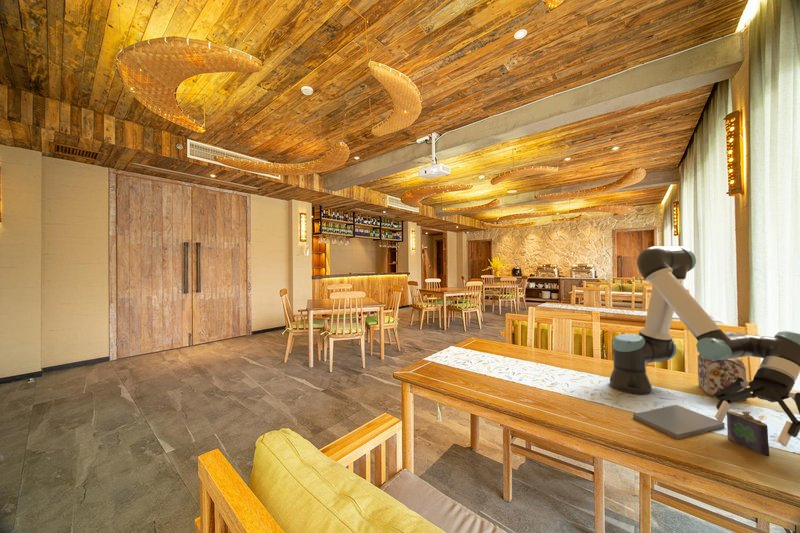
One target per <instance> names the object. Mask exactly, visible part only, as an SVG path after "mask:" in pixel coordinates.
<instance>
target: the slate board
mask: <svg viewBox="0 0 800 533" xmlns="http://www.w3.org/2000/svg"><path fill="white" fill-rule="evenodd" d="M632 416H633V419H634V420H636V421H639V422H641V423H642V424H645V425H647V426H649V427H651V428H654V430H655V429H656V430H658V431H659V432H661V433H664V434H666V435H668V436H671V437H672V438H674V439H676V440H680V439H683V438H684V439H685V438H689V437H692V436H697V435H700V434H704V433H707V432H712V431H716V430H720V429H723V428H725V422H724V421H723V422H719V421H718V420H717V419H715V418H712V417H710V416H707V415H704V414H702V413H700V412H696V411H694V410H691V409H688V408H686V407H684V406H681V405H678V404H674V405H669V406H663V407H659V408H654V409H649V410H646V411H641V412H635V413H633V414H632Z"/></svg>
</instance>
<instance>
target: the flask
mask: <svg viewBox="0 0 800 533" xmlns="http://www.w3.org/2000/svg"><path fill="white" fill-rule="evenodd" d="M741 413H742V414H741ZM741 413H739V412H735V411H731V410H729V411H727V413H726V423H727V424H726V425H727V426H726V427H727V429H726V430H727V439H728V440H729V441H730V442H732V443H735V444H737V445H739V446H740V447H743V448H746V449H749V450H750V451H752V452H754V453H756V454H758V455H760V456H764V457H770V446H769V432H768V430H769V429H768V424H766V423H764V422H762V421H761V420H759V419H755V418H754V417H753V416H752V415H750V414H752V413H751V412H750V411H747V410H746V411H741Z"/></svg>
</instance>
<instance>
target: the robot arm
mask: <svg viewBox="0 0 800 533" xmlns="http://www.w3.org/2000/svg"><path fill="white" fill-rule="evenodd" d="M696 264H697V258H696V255H695V253H694V252H692V250H691V249H689V248H688V247H685V246H679V245H667V246H666V245H664V246H649V247H647V248H645V249H643V250H641V252H640V253H639V254H638V255H637V258H636V266H637V267H636V268H637V269H638V271H639V273H640V275H641V277H642V278H644V281H646V282H647V283H651V285H652V286H651V292H650V297H649V303H648V308H647V312H646V318H645V323H644V327H642V328H640V329H639V332H638V334H632V333H628V334H627V333H624V334H617V335H615V336H614V337H613V338H612V345H611V346H612V358H613V370H612V372H611V375H610V377H609V386H611V387H612V388H614V389H615V390H618V391H621V392H624V393H628V394H635V395H649V394H652V392H653V387H652V384H651V382H650V379H649V376H648V375H647V369H646V368H647V364H651V363H663V362H665V361H669V360H671V359H673V358H674V357H675V356H676V354H677V350H678V349H677V345H676V344H675V341H674V340H673V335H672V334H671V333H670V329H671V326H672V321H673V316H674V313H675V314H676V316H678V318H679V319H680V321H681V322H682V323H683V324H684V325H685V326H686V328H687V329H688V330H689V332H690V333H691V334H692V335H693V337H694V338H695V339H696V340H697V342H696V350H697V352H698V354H699V355H700V354H701V355H702V356H703V357H705V358H707V359H710V360H727V359H730V358H744V357H752V358H753V357H754V358H760V359H762V361H761V363H760V365H759V366H758V369H757V371H756V372H755V374H754V375H753V379H752V380H751V381H748V380H746V381H745V380H743V379H742V378H737V380H736V381H735V382H734V383H732V384H730V385H729V386H727V387H725V388H723V389H721V390H720V391H718V392H716V393H714V395H713V396H714V397H715V398H716V399H717V400H718V402H717V405H716V410H717V411H716V414H715V416H714V419H715V418H716V419H715V420H718V421H719V422H723V423H724V419H725V418H726V417H727V414H726V413H727V411H730V409H731V408H732V407H731V406H732V405H730V404H733V403H737V402H740V401H745V400H744V399H755V398H758V399H759V400H762V401H763V400H764V401H765V400H766V401H767V402H769V403H778V405H779V406H780V407H781V409H782V410H783V412H784V413H785V414H786V415H787V417H788V419H789V420H790V421H788V420H786V422H785V423H784V426H783V427H782V430H781V431H780V434H779V436H778V438H777V441H778V443H779V444H780V445H781V446H783V447H785V448H787V446H788V444H789V441H790V439H791V438H792V437H793V438H797V437H798V435H799V433H800V420H799V419H797V416H795V415H794V413H793V412H792V410H791V409H790V408H789V407H788V405H787V404H786V402H785V401H784V400H787V399H790V398H791V399H792V400H793V401H794V403H795V406H796V408H797V411H798V414H799V415H800V392H796V393H795V392H791V391H792V390H793V388H794V385H795V384H796V381H797V379H798V377H799V375H800V333H799V332H796V331H789V330H783V331H778V332H777V333H776V334H775V335H774V336H762V335H757V334H756V335H755V334H748V333H741V332H724V331H723V330H722V329H721V328H720V326H718V325H717V324H716V322H715V321H714V320H713V319H712V317H711V316H710V315H709V314H708V312H706V311H705V309H704V308H703V307H702V306H701V305H700V304H699V302H698V301H697V300H696V299H695V298H694V297H693V296H692V294H691V293H690V292H689V291H688V289H686V288H685V286H684V285H683V284H682V283H681V282H683V281H685V280H686V277H687V273H688V272H690V271H691V270H693V269H694V268H695V266H696ZM746 386H747V388H746ZM743 387H745V389H744V390H742V391H739V390H741V389H742V388H743ZM737 391H739V392H737Z"/></svg>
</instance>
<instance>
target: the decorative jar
mask: <svg viewBox="0 0 800 533" xmlns="http://www.w3.org/2000/svg"><path fill="white" fill-rule="evenodd" d="M737 378H742V379H743V380H745V381H747V368H746V366H745V364H744V362H743V360H742V359H741V357H739V358H730V359H727V360H710V359H707V358H705V357H703V356H702V355H701V354H700V353H699V354H698V355H697V379H698V386H699V387H701V389H702V390H703V391H704V392H705V393H706V394H707V395H709V396H710V395H711V396H715V395H714V393H716V392H718V391H720V390H721V389H723V388H725V387H727V386H729V385H730V384H732V383H734V382H735V381H736V380H737ZM746 388H748V386H746ZM744 389H745V387H743V388H742V389H741V390H739V391H742V390H744ZM739 391H737V392H739ZM747 399H748V398H747ZM747 399H744V400H743V401H745V400H746V401H747Z"/></svg>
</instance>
